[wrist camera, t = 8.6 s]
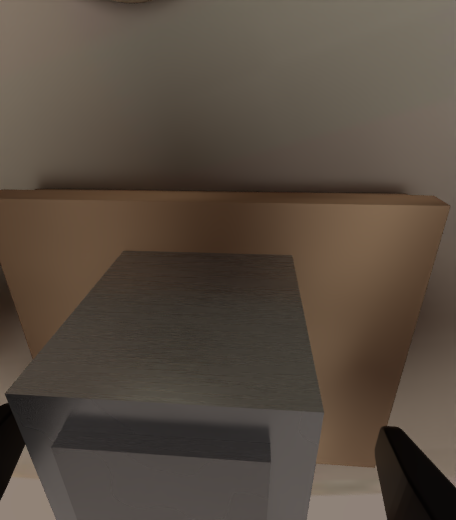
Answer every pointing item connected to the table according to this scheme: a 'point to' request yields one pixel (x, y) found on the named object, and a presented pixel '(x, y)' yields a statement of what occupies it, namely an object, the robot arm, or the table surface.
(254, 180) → the table surface
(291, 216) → the tan flat board
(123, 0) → the cream rounded piece
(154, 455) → the housing
